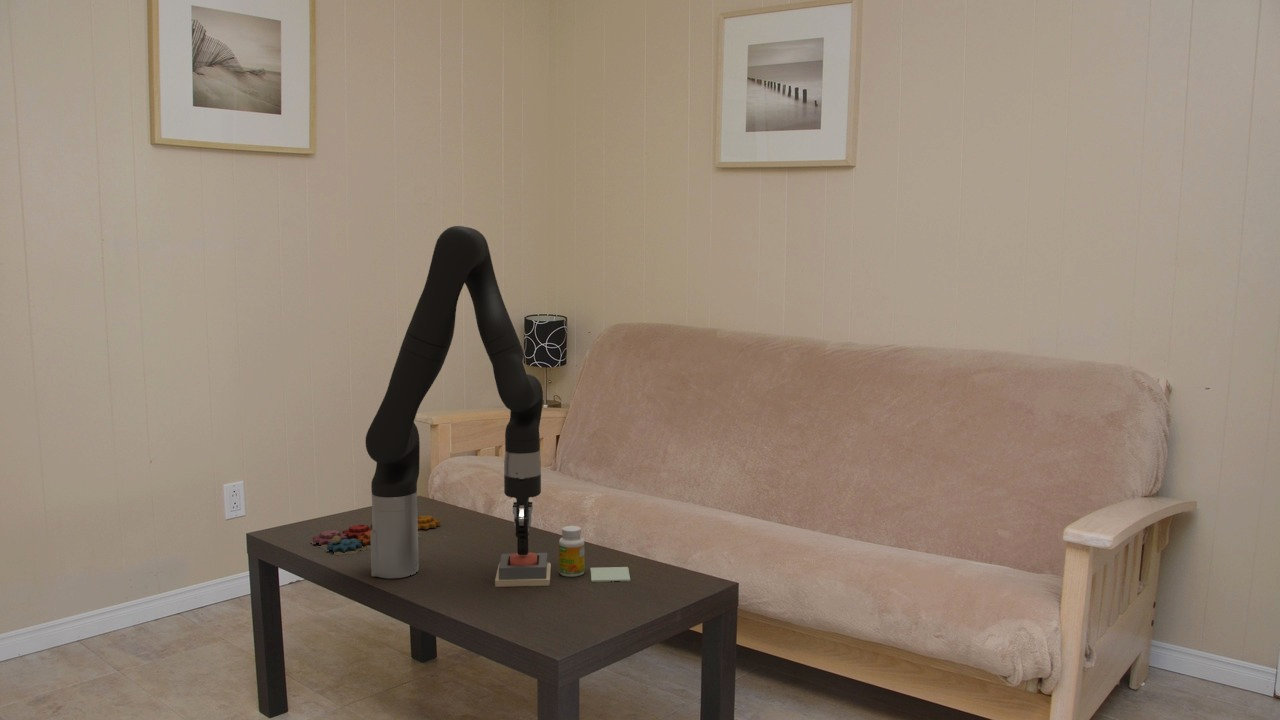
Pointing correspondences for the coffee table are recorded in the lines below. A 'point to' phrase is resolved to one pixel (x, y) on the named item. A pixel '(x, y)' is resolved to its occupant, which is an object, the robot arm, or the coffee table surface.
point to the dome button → (523, 559)
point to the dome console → (523, 572)
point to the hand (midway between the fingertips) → (523, 553)
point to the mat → (610, 574)
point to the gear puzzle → (360, 536)
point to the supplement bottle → (571, 552)
